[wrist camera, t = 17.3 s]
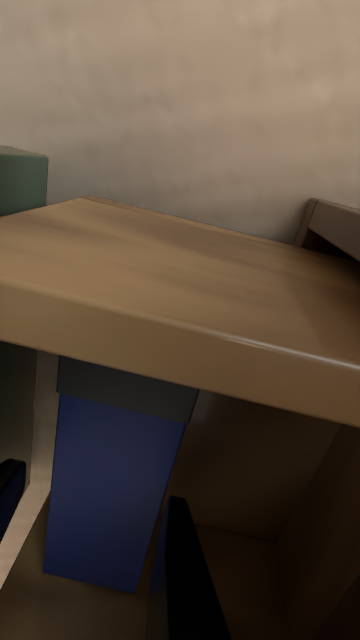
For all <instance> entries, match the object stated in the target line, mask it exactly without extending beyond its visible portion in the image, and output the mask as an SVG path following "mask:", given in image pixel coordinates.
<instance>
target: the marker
mask: <svg viewBox="0 0 360 640" xmlns="http://www.w3.org/2000/svg"><path fill="white" fill-rule="evenodd" d="M199 390H200V389H196V388H192V387H188V386H184V385H180V384H176V383H172V382H168V381H164V380H159V379H155V378H151V377H147V376H143V375H139V374H135V373H131V372H126V371H122V370H118V369H114V368H110V367H106V366H102V365H98V364H94V363H89V362H85V361H81V360H77V359H73V358H69V357H65V356H61V355H60V356H59V367H58V378H57V389H56V391H57V392H58V393H60V397H59V407H58V418H57V428H56V438H55V449H54V459H53V470H52V480H51V491H50V501H49V512H48V522H47V533H46V543H45V553H44V564H43V573H47V574H51V575H55V576H59V577H64V578H68V579H72V580H76V581H81V582H85V583H89V584H93V585H98V586H102V587H106V588H110V589H115V590H119V591H123V592H128V593H132V594H135V592H136V589H137V585H138V582H139V579H140V575H141V572H142V569H143V565H144V562H145V559H146V556H147V552H148V549H149V546H150V542H151V539H152V536H153V532H154V529H155V526H156V523H157V519H158V516H159V513H160V509H161V506H162V503H163V499H164V496H165V493H166V490H167V486H168V483H169V480H170V476H171V473H172V470H173V466H174V463H175V460H176V457H177V453H178V450H179V447H180V443H181V440H182V437H183V433H184V430H185V427H186V424H188V423H189V422H190V420H191V417H192V413H193V410H194V407H195V404H196V400H197V397H198V394H199Z"/></svg>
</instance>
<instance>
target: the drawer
mask: <svg viewBox="0 0 360 640" xmlns="http://www.w3.org/2000/svg"><path fill="white" fill-rule="evenodd" d="M47 175H48V157H47V156H45V155H41V154H37V153H33V152H29V151H25V150H21V149H17V148H13V147H8V146H0V463H2V462H3V461H5V460H6V459H9V458H14V459H18V460H23V461H25V462H26V485H25V489H24V492H23V494H24V493H25V491H26V489H27V488H28V486H29V484H30V470H31V452H32V435H33V418H34V400H35V383H36V366H37V350H40V351H44V352H48V353H52V354H56V355H61V356H65V357H69V358H73V359H77V360H81V361H85V362H89V363H94V364H98V365H102V366H106V367H110V368H114V369H118V370H122V371H126V372H131V373H135V374H139V375H143V376H147V377H151V378H155V379H159V380H164V381H168V382H172V383H176V384H180V385H184V386H188V387H192V388H196V389H200V390H199V394H198V397H197V400H196V404H195V407H194V410H193V413H192V417H191V420H190V422H189V423H188V424H186V427H185V430H184V433H183V437H182V440H181V443H180V447H179V450H178V453H177V457H176V460H175V463H174V466H173V470H172V473H171V476H170V480H169V483H168V486H167V490H166V493H165V496H164V499H163V503H162V506H161V509H160V513H159V516H158V519H157V523H156V526H155V529H154V532H153V536H152V539H151V542H150V546H149V549H148V552H147V556H146V559H145V562H144V565H143V569H142V572H141V575H140V579H139V582H138V585H137V589H136V592H135V594H132V593H128V592H123V591H119V590H115V589H110V588H106V587H102V586H98V585H93V584H89V583H85V582H81V581H76V580H72V579H68V578H64V577H59V576H55V575H51V574H47V573H43V564H44V553H45V543H46V533H47V522H48V512H49V501H50V492H49V494H48V496H47V498H46V500H45V502H44V504H43V506H42V508H41V510H40V512H39V514H38V516H37V518H36V520H35V522H34V524H33V526H32V528H31V530H30V532H29V534H28V536H27V538H26V540H25V542H24V544H23V546H22V548H21V550H20V552H19V554H18V556H17V558H16V560H15V562H14V564H13V566H12V568H11V570H10V572H9V574H8V576H7V578H6V580H5V582H4V584H3V586H2V588H1V590H0V640H145V633H146V619H147V607H148V597H149V590H150V583H151V578H152V572H153V566H154V560H155V555H156V549H157V543H158V537H159V531H160V526H161V521H162V517H163V514H164V510H165V507H166V504H167V501H168V498H169V496H171V495H174V496H178V497H183V498H185V499H186V501H187V503H188V506H189V509H190V512H191V515H192V518H193V521H194V525H195V528H196V531H197V534H198V537H199V540H200V543H201V546H202V549H203V553H204V556H205V559H206V562H207V565H208V568H209V571H210V574H211V578H212V581H213V584H214V587H215V590H216V593H217V596H218V599H219V602H220V606H221V609H222V612H223V615H224V618H225V621H226V624H227V627H228V630H229V634H230V637H231V640H309V638H310V637H311V636H312V634H313V633H314V632H315V630H316V629H317V628H318V627H319V625H320V624H321V623H322V621H323V620H324V619H325V617H326V616H327V615H328V613H329V612H330V611H331V609H332V608H333V607H334V605H335V604H336V603H337V602H338V600H339V599H340V598H341V596H342V595H343V594H344V592H345V591H346V590H347V588H348V587H349V586H350V584H351V583H352V582H353V581H354V579H355V578H356V577H357V575H358V574H359V573H360V262H357V261H353V260H349V259H345V258H341V257H337V256H333V255H329V254H325V253H321V252H317V251H313V250H309V249H305V248H301V247H297V246H292V245H288V244H284V243H280V242H276V241H272V240H268V239H264V238H260V237H256V236H252V235H248V234H244V233H240V232H236V231H232V230H228V229H224V228H220V227H216V226H212V225H208V224H204V223H200V222H196V221H192V220H188V219H184V218H180V217H176V216H172V215H168V214H164V213H160V212H156V211H152V210H148V209H144V208H140V207H136V206H132V205H128V204H124V203H120V202H116V201H112V200H108V199H104V198H100V197H96V196H92V195H88V196H84V197H80V198H77V199H73V200H69V201H65V202H61V203H57V204H52V205H48V206H46V193H47ZM22 496H23V495H22ZM21 498H22V497H21ZM20 500H21V499H20Z"/></svg>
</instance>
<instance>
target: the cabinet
mask: <svg viewBox="0 0 360 640" xmlns="http://www.w3.org/2000/svg"><path fill="white" fill-rule="evenodd" d="M293 246H297V247H301V248H305V249H309V250H313V251H317V252H321V253H325V254H329V255H333V256H337V257H341V258H345V259H349V260H353V261H357V262H360V210H359V209H355V208H351V207H347V206H343V205H340V204H336V203H332V202H328V201H324V200H320V199H316V198H311V199H310V201H309V203H308V206H307V209H306V211H305V214H304V217H303V220H302V222H301V225H300V228H299V230H298V233H297V236H296V239H295V241H294V244H293ZM309 640H360V573H359V574H358V575H357V577H356V578H355V579H354V581H353V582H352V583H351V584H350V586H349V587H348V588H347V590H346V591H345V592H344V594H343V595H342V596H341V598H340V599H339V600H338V602H337V603H336V604H335V605H334V607H333V608H332V609H331V611H330V612H329V613H328V615H327V616H326V617H325V619H324V620H323V621H322V623H321V624H320V625H319V627H318V628H317V629H316V630H315V632H314V633H313V634H312V636H311V637H310V638H309Z"/></svg>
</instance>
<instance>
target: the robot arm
mask: <svg viewBox="0 0 360 640" xmlns="http://www.w3.org/2000/svg"><path fill="white" fill-rule="evenodd" d="M25 485H26V462H25V461H23V460H18V459H14V458H9V459H6V460H5V461H3V462H2V463H0V543H1V541H2V539H3V536H4V534H5V532H6V530H7V528H8V525H9V523H10V521H11V519H12V517H13V515H14V512H15V510H16V508H17V506H18V504H19V501H20V499H21V497H22V495H23V492H24V489H25ZM145 640H231V637H230V634H229V630H228V627H227V624H226V621H225V618H224V615H223V612H222V609H221V606H220V602H219V599H218V596H217V593H216V590H215V587H214V584H213V581H212V578H211V574H210V571H209V568H208V565H207V562H206V559H205V556H204V553H203V549H202V546H201V543H200V540H199V537H198V534H197V531H196V528H195V525H194V521H193V518H192V515H191V512H190V509H189V506H188V503H187V501H186V499H185V498H183V497H178V496H174V495H171V496H169V498H168V501H167V504H166V507H165V510H164V514H163V517H162V521H161V526H160V531H159V537H158V543H157V549H156V555H155V560H154V566H153V572H152V578H151V583H150V590H149V597H148V607H147V619H146V633H145Z"/></svg>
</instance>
